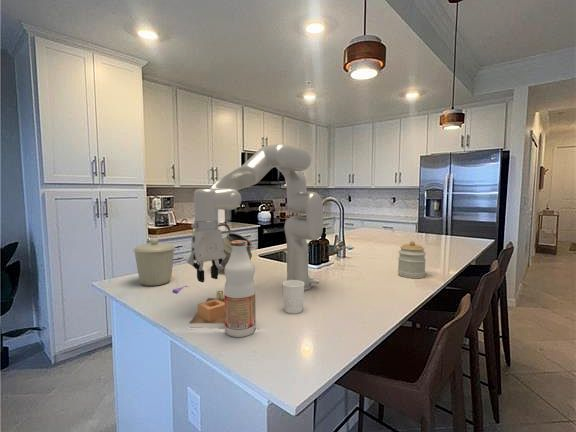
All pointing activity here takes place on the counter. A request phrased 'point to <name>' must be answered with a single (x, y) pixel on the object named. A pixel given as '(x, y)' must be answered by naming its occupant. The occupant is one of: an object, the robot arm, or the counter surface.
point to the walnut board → (200, 320)
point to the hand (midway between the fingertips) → (207, 279)
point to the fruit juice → (239, 292)
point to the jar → (411, 261)
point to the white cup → (293, 296)
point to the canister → (154, 262)
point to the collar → (211, 310)
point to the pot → (227, 244)
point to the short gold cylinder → (220, 295)
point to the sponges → (178, 289)
